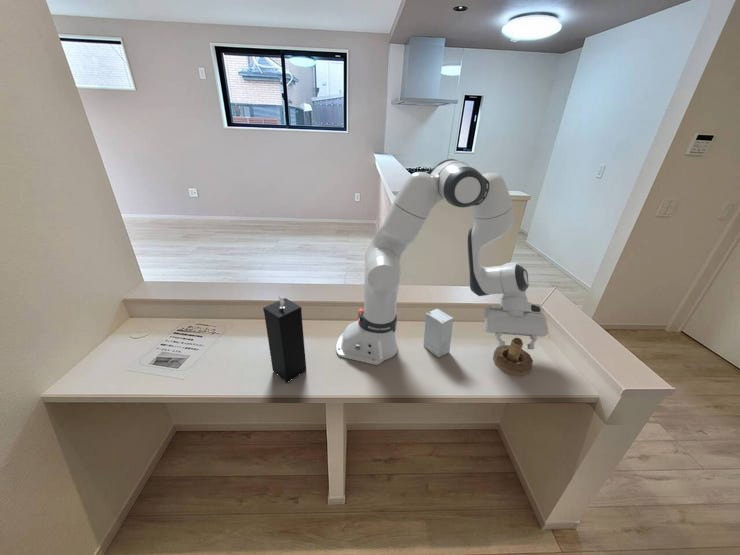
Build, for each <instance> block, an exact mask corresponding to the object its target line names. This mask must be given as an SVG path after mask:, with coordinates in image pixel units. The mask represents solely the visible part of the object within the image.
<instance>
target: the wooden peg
mask: <svg viewBox="0 0 740 555" xmlns="http://www.w3.org/2000/svg"><path fill="white" fill-rule="evenodd" d="M509 345H510V348H509V352H508V355H507V356H506V359H507V360H508V361H510V362H513V363H518V361H519V360H518V359H519V356H520V353H521V349H523V346H524V342H523V340H522V339H521V338H519V337H514V338H513V339H511V342H510V344H509Z"/></svg>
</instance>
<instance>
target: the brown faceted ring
mask: <svg viewBox="0 0 740 555" xmlns="http://www.w3.org/2000/svg"><path fill="white" fill-rule="evenodd" d="M510 345H511V344H505V347H499V346H497V347H495V350H494V352H493V356H492V360H493V363H494V366H496V367H498V368H499V369H500V370H501V371H502V372H504V373H507V374H509V375H513V376H525V375H527V374H529V373H530V371H531V368H532V367H533V362H534V360H533V358H532V357H531V355H530V354H529V353H528V352H527V351H526V350H524V349H523V348H522V349H521V353H520V356H519V359H518V361H519V363H518V362H517V363H513V362H510V361H508V360H507V359H506V358H507V355H508V352H509V348H510ZM505 357H506V358H505Z"/></svg>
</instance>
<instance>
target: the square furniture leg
mask: <svg viewBox="0 0 740 555" xmlns="http://www.w3.org/2000/svg"><path fill="white" fill-rule="evenodd" d="M262 310H263V315H264V319H265V327H266V334H267V341H268V346H269V347H268V348H269V354H270V359H271V368H272V372H273V371H274V372H275V373H276V374H275V373H274V372H273V373H274V374H275V375H277V374H278V375H279V376H280V377H281V378H282V379H281V378H280V377H279V376H278V375H277V376H278V377H279V378H280V379H281V380H283V379H284V380H285V381H286V382H288V381H290V380H291V379H293V378H294V379H296V378H297V377H299V376H300V375H302V374H303V372H304V371H305V372H306V371H307V362H306V361H307V360H306V350H305V339H304V338H305V336H304V328H303V314H302V312H303V311H302V306H300V305H299V304H296V303H295V302H293V301H291V300H290V299H288V298H286V297H285V298H281V296H280V295H278V301H276V302H273V303H271V304H269V305H266V306H264V307H263V309H262ZM305 372H304V373H305ZM301 373H302V374H301ZM299 374H300V375H299ZM298 375H299V376H298ZM296 376H297V377H296ZM295 377H296V378H295ZM294 379H293V380H294ZM284 380H283V381H284ZM285 381H284V382H285ZM291 381H292V380H291ZM291 381H290V382H291ZM286 382H285V383H286ZM288 383H289V382H288Z"/></svg>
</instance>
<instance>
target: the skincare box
mask: <svg viewBox="0 0 740 555" xmlns="http://www.w3.org/2000/svg"><path fill="white" fill-rule="evenodd" d="M424 322H425V323H424V336H423V347H424V348H425V349H427V350H428V351H429V352H430V353H432V354H433V355H435V356H436V357H437V358H440V357H442V356H444V355H447V354H449V352H450V350H451V342H452V334H453V324H454V317H453V316H451V315H449V314H447V313H445V312H444V311H442V310H440V309H439V308H435V309H433V310H431V311H428V312H426V313H425V321H424Z"/></svg>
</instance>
